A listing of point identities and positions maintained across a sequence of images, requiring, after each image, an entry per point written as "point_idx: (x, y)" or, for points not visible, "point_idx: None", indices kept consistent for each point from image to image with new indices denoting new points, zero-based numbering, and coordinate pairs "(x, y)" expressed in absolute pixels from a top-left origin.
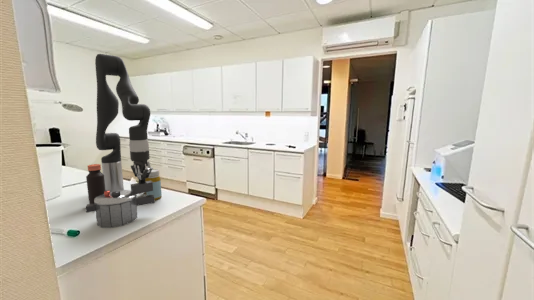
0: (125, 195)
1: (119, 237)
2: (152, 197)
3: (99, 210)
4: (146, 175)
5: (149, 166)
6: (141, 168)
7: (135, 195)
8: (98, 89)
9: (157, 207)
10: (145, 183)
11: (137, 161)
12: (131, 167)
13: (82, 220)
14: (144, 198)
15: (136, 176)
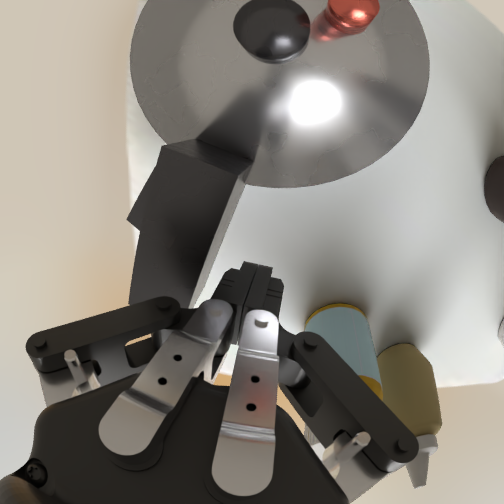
0: (212, 77)
1: (137, 8)
2: (132, 210)
3: None
4: (157, 351)
5: (408, 466)
6: (110, 401)
7: (154, 126)
8: None
9: (233, 250)
10: (135, 258)
11: (25, 486)
12: (400, 437)
13: (430, 35)
14: (152, 173)
15: (295, 336)
